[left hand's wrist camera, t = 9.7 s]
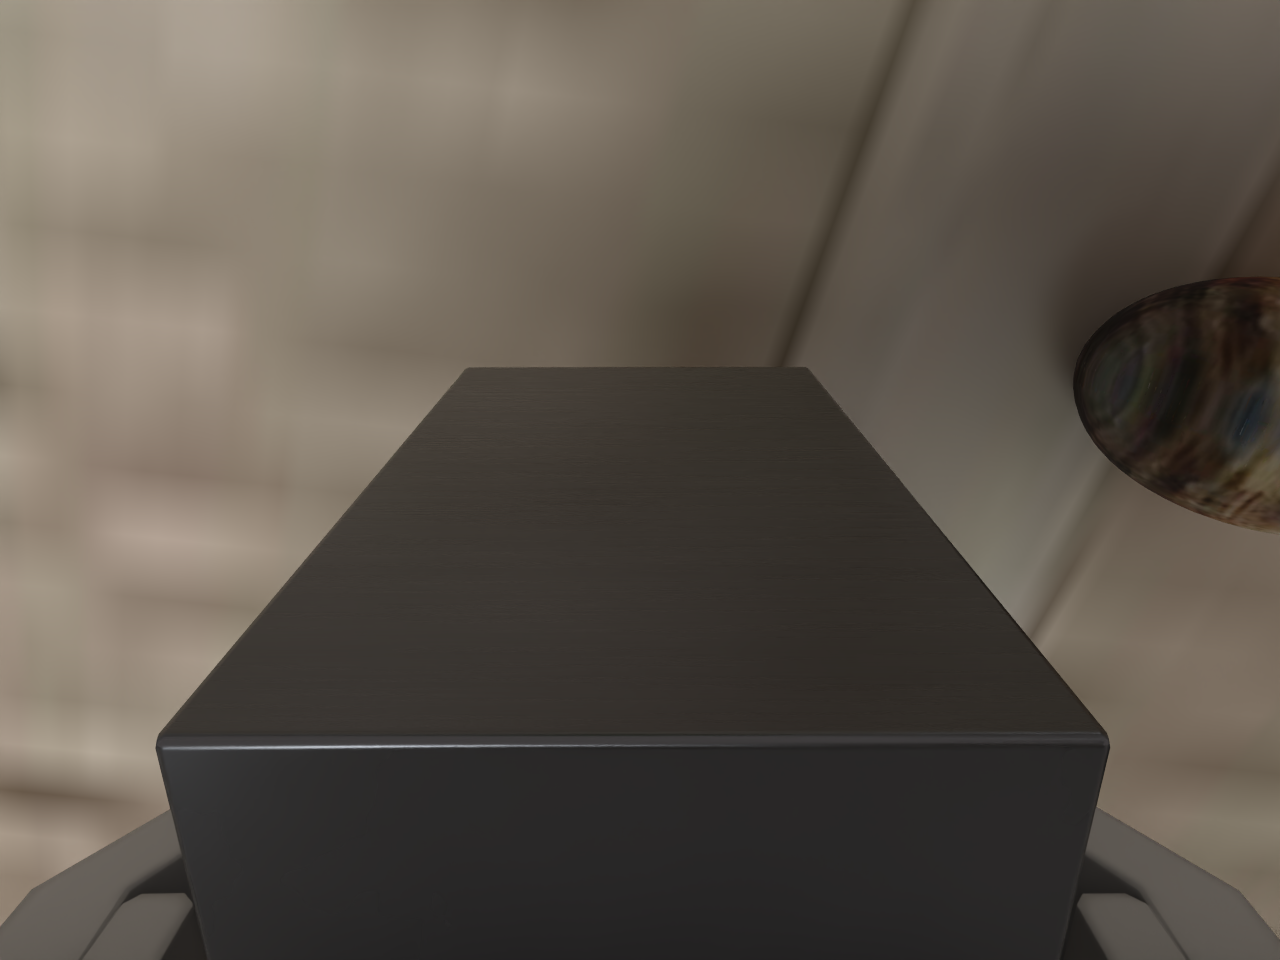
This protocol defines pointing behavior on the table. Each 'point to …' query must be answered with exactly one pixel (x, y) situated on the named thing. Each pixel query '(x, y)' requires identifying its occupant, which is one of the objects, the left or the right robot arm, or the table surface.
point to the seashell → (1192, 397)
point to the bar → (634, 702)
